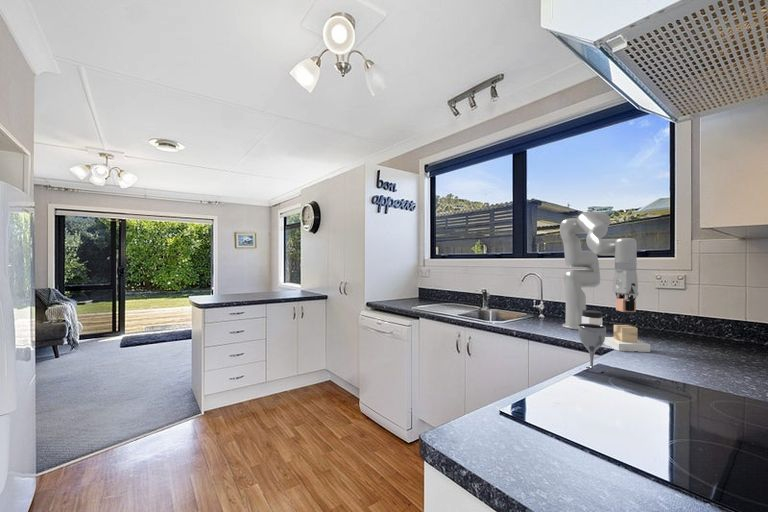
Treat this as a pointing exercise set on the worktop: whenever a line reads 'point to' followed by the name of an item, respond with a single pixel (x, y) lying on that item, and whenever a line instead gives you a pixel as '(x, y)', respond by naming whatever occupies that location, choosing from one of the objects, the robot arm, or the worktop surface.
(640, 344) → the plinth
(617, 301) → the terracotta cube
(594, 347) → the wine glass
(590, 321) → the jar
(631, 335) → the maple cube
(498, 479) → the worktop surface
